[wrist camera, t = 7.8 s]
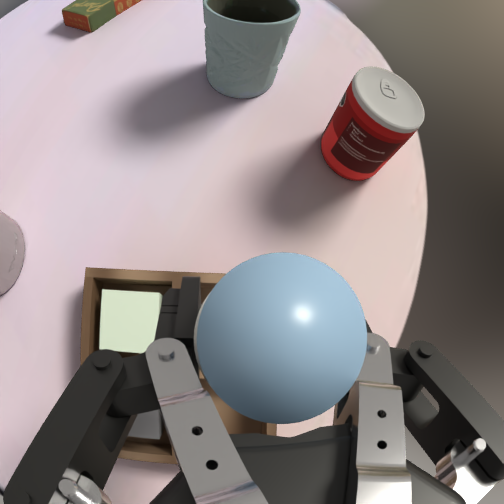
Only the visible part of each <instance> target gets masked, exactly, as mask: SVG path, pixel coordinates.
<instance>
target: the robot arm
mask: <svg viewBox="0 0 504 504" xmlns="http://www.w3.org/2000/svg"><path fill="white" fill-rule="evenodd" d="M24 255H25V242H24V237H23V233H22V231H21V229H20V227H19V225H18V224H17V223H16V222H15V221H14V220H13V219H11V218H10V217H9V216H7V215H6V214H5V213H3V212H2V211H1V210H0V295H2V294H4V293H5V292H6V291H7V290H9V289H10V288H11V286H12V285H13V284H14V283H15V281H16V279H17V278H18V276H19V274H20V271H21V269H22V266H23V261H24ZM200 308H201V279H200V277H196V276H183V277H182V283H181V289H180V288H169V290H168V291H167V292H166V293H165V294H164V295H163V298H162V303H161V308H160V314H159V318H158V323H157V328H156V333H155V339H154V342H152V343H151V344H150V345H149V346H148V347H147V349H146V351H145V352H144V353H142V354H139V355H136V356H131V357H126V358H122V357H121V355H120V354H119V353H117V352H116V351H113V350H110V349H101V350H97V351H95V352H93V353H91V354H90V355H89V356H88V357H87V358H86V360H85V361H84V362H83V364H82V365H81V367H80V368H79V370H78V371H77V373H76V374H75V376H74V377H73V379H72V380H71V382H70V383H69V385H68V386H67V388H66V389H65V391H64V392H63V394H62V395H61V397H60V398H59V400H58V401H57V403H56V404H55V406H54V407H53V409H52V411H51V412H50V414H49V415H48V417H47V418H46V420H45V422H44V423H43V425H42V426H41V428H40V430H39V431H38V433H37V435H36V436H35V438H34V440H33V441H32V443H31V445H30V446H29V448H28V450H27V451H26V453H25V455H24V456H23V458H22V460H21V462H20V463H19V465H18V467H17V469H16V470H15V472H14V474H13V476H12V477H11V479H10V481H9V483H8V485H7V487H6V489H5V491H4V496H3V500H4V504H112V503H111V501H110V499H109V497H108V496H107V495H106V494H105V493H104V492H103V489H104V486H105V484H106V482H107V480H108V477H109V475H110V473H111V471H112V469H113V466H114V464H115V462H116V460H117V458H118V456H119V453H120V451H121V449H122V447H123V445H124V443H125V440H126V438H127V436H128V434H129V432H130V430H131V428H132V426H133V423H134V421H135V419H136V417H137V415H138V414H141V413H145V412H150V411H154V410H159V409H160V412H161V416H162V419H163V422H164V425H165V428H166V431H167V434H168V437H169V440H170V443H171V446H172V449H173V452H174V454H175V457H176V460H177V463H178V466H179V468H180V472H179V473H178V474H177V475H176V476H175V477H174V478H173V479H172V481H171V482H170V483H169V484H168V485H167V486H166V487H165V488H164V489H163V490H162V491H161V492H160V493H159V494H158V495H157V496H156V497H155V498H154V499H153V500H152V501H151V502H150V503H149V504H476V503H477V502H478V501H479V500H480V499H481V498H482V497H483V496H484V495H485V494H486V493H487V492H488V491H489V490H490V489H491V488H492V487H493V486H495V485H496V484H497V483H499V482H500V481H502V480H503V479H504V420H503V419H502V418H501V417H500V416H499V415H498V414H497V412H496V411H495V410H494V409H493V408H492V407H491V406H490V405H489V403H487V401H486V400H485V399H484V398H483V397H482V396H481V395H480V394H479V392H477V390H476V389H475V388H474V387H473V386H472V385H471V384H470V383H469V382H468V381H467V380H466V378H465V377H464V376H463V375H462V374H461V373H460V372H459V371H458V370H457V369H456V368H455V367H454V366H453V365H452V364H451V363H450V362H449V361H448V359H446V357H445V356H443V354H442V353H441V352H440V351H439V350H438V349H437V348H436V347H435V346H433V345H432V344H431V343H428V342H426V341H415V342H413V343H412V344H411V345H410V346H409V349H408V350H406V349H399V348H393V347H389V344H388V342H387V341H386V340H385V339H384V338H383V337H381V336H379V335H377V334H374V333H372V331H371V329H370V327H369V325H368V323H367V321H366V320H365V321H366V328H367V347H366V354H365V358H364V362H363V365H362V368H361V370H360V373H359V375H358V377H357V379H356V380H355V382H354V384H353V386H352V387H351V388H350V390H349V391H348V392H347V393H346V395H345V396H344V397H343V398H342V399H341V400H340V401H339V402H338V403H336V404H335V409H334V420H333V426H326V427H320V428H317V429H314V430H312V431H309V432H306V433H303V434H300V435H297V436H295V437H290V438H289V437H280V436H273V435H266V434H259V433H247V434H228V432H227V430H226V428H225V426H224V424H223V422H222V420H221V418H220V415H219V413H218V411H217V409H216V407H215V405H214V402H213V400H212V398H211V396H210V394H209V392H208V391H207V390H205V391H204V390H203V388H202V385H201V383H200V381H199V373H200V368H199V365H198V363H197V360H196V355H195V350H194V329H195V324H196V319H197V316H198V313H199V310H200ZM423 387H425V388H426V389H427V390H428V392H429V393H430V394H431V395H432V396H433V397H434V399H435V400H436V401H437V402H438V404H439V412H438V411H437V410H436V409H435V408H434V406H433V405H432V404H431V403H430V402H429V400H428V399H427V398H426V397H425V396H424V395H423V393H422V392H421V390H422V388H423ZM404 425H405V426H406V427H407V428H408V430H409V431H410V432H411V434H412V435H413V436H414V438H415V439H416V440H417V442H418V443H419V444H420V445H421V447H422V448H423V450H425V452H426V453H427V455H428V456H429V457H430V459H431V460H432V461H433V463H434V464H435V465H436V475H435V477H432V476H431V475H430V474H428V473H427V472H425V471H423V470H422V469H420V468H419V467H417V466H416V465H414V464H413V463H411V462H410V461H408V460H407V459H406V448H405V427H404Z"/></svg>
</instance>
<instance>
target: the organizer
mask: <svg viewBox="0 0 504 504" xmlns="http://www.w3.org/2000/svg"><path fill="white" fill-rule="evenodd" d="M225 275H226V274H223V273H195V272H170V271H147V270H126V269H106V268H88V267H86V270H85V280H84V291H83V305H82V323H81V365H82V364H83V362H84V361H85V360H86V358H87V357H88V356H89V355H90V354H91V353H93V352H95V351H97V350H101V349H99V347H100V317H101V300H102V289H105V290H120V291H137V292H155V293H160V294H161V295H164V294H165V293H166V292H167V291H168V290H169V288H180V289H181V283H182V277H183V276H196V277H200V279H201V304H203V302H204V300H205V299H206V297H207V296H208V295H209V293H210V292H211V291H212V290H213V288H214V287H215V285H216V284H217V283H218V282H219V281H220V280H221V279H222V277H223V276H225ZM116 352H117V353H119V354H120V355H121V357H122V358H126V357H131V356H136V355H139V354H142V353H132V352H121V351H116ZM199 381H200V383H201V385H202V388H203V390H204V391H205V390H207V391H208V392H209V394H210V396H211V398H212V400H213V402H214V405H215V407H216V409H217V411H218V413H219V415H220V418H221V420H222V422H223V424H224V426H225V428H226V430H227V432H228V434H247V433H259V434H266V435H273V436H276V430H277V424H273V423H265V422H261V421H257V420H254V419H251V418H249V417H247V416H244V415H242V414H241V413H239V412H237V411H235V410H234V409H232V408H231V407H230V406H229V405H227V404H226V403H225V402H224V401H223V400H222V399H221V398H220V397H219V396H218V395H217V394H216V393H215V391H214V390H213V389H212V388H211V387H210V385H209V384H208V382H207V381H206V380H205V378H204V376H203V374H202V372H201V370H200V373H199ZM118 458H123V459H130V460H138V461H147V462H157V463H169V464H178V463H177V460H176V457H175V454H174V452H173V449H172V446H171V443H170V440H169V437H168V434H167V431H166V428H165V425H164V431H163V433H162V435H161V437H160V439H149V438H140V437H131V436H127V438H126V440H125V443H124V445H123V447H122V449H121V451H120V453H119V456H118Z"/></svg>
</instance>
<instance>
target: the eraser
mask: <svg viewBox="0 0 504 504" xmlns="http://www.w3.org/2000/svg"><path fill="white" fill-rule="evenodd" d="M163 431H164V422H163V419H162V416H161V412H160V409H159V410H154V411H150V412H145V413H141V414H138V415H137V417H136V419H135V421H134V423H133V426H132V428H131V430H130V432H129V434H128V436H131V437H140V438H149V439H160V437H161V435H162V433H163Z"/></svg>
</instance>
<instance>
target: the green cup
mask: <svg viewBox="0 0 504 504" xmlns="http://www.w3.org/2000/svg"><path fill="white" fill-rule="evenodd" d="M203 11H204V23H205V25H206V28H205V42H206V43H205V46H206V62H207V63H206V69H207V78H208V81H209V83H210V84H211V86H212V87H213V88H214V89H215V90H216V91H218V92H219V93H221V94H224V95H226V96H229V97H233V98H252V97H256V96H259V95H261V94H263V93H265V92H266V91H267V90H268V89H269V88H270V87H271V85H272V84H273V81H274V78H275V76H276V73H277V70H278V67H277V66H278V64H279V62H280V60H281V59H282V56H283V53H284V51H285V48H286V45H287V43H288V39H289V37H290V34H291V33H292V31H293V29H294V27H295V24H296V22H297V20H298V17H299V15H300V11H301V10H300V6H299V4H298V2H297V1H296V0H203Z"/></svg>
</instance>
